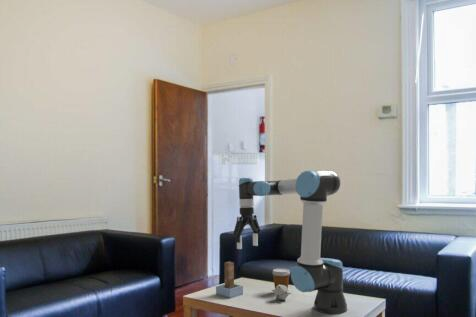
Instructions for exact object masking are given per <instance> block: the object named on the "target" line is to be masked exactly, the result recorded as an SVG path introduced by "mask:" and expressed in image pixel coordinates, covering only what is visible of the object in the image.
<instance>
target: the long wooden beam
mask: <svg viewBox="0 0 476 317" xmlns="http://www.w3.org/2000/svg"><path fill="white" fill-rule="evenodd" d="M223 266H224V284H225V288H228V289H231V288H234V284H235V262H234V261H233V262H232V261H226V262H224V264H223Z"/></svg>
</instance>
